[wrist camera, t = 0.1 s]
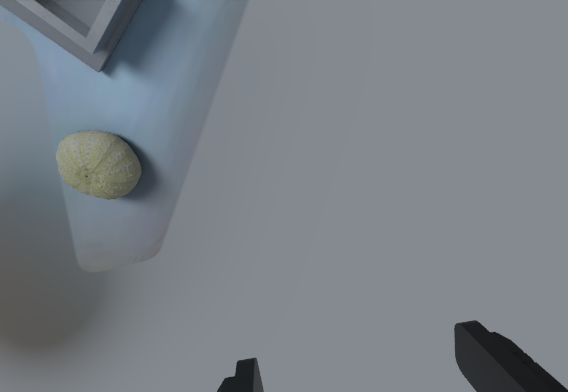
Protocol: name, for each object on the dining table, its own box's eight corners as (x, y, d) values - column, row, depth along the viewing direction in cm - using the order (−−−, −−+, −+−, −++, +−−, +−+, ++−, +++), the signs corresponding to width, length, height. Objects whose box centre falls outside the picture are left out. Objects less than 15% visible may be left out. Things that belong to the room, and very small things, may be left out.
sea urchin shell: (119, 212, 41) (56, 213, 34) (97, 167, 43) (34, 159, 36) (160, 171, 39) (102, 163, 31) (135, 125, 41) (74, 108, 33)
